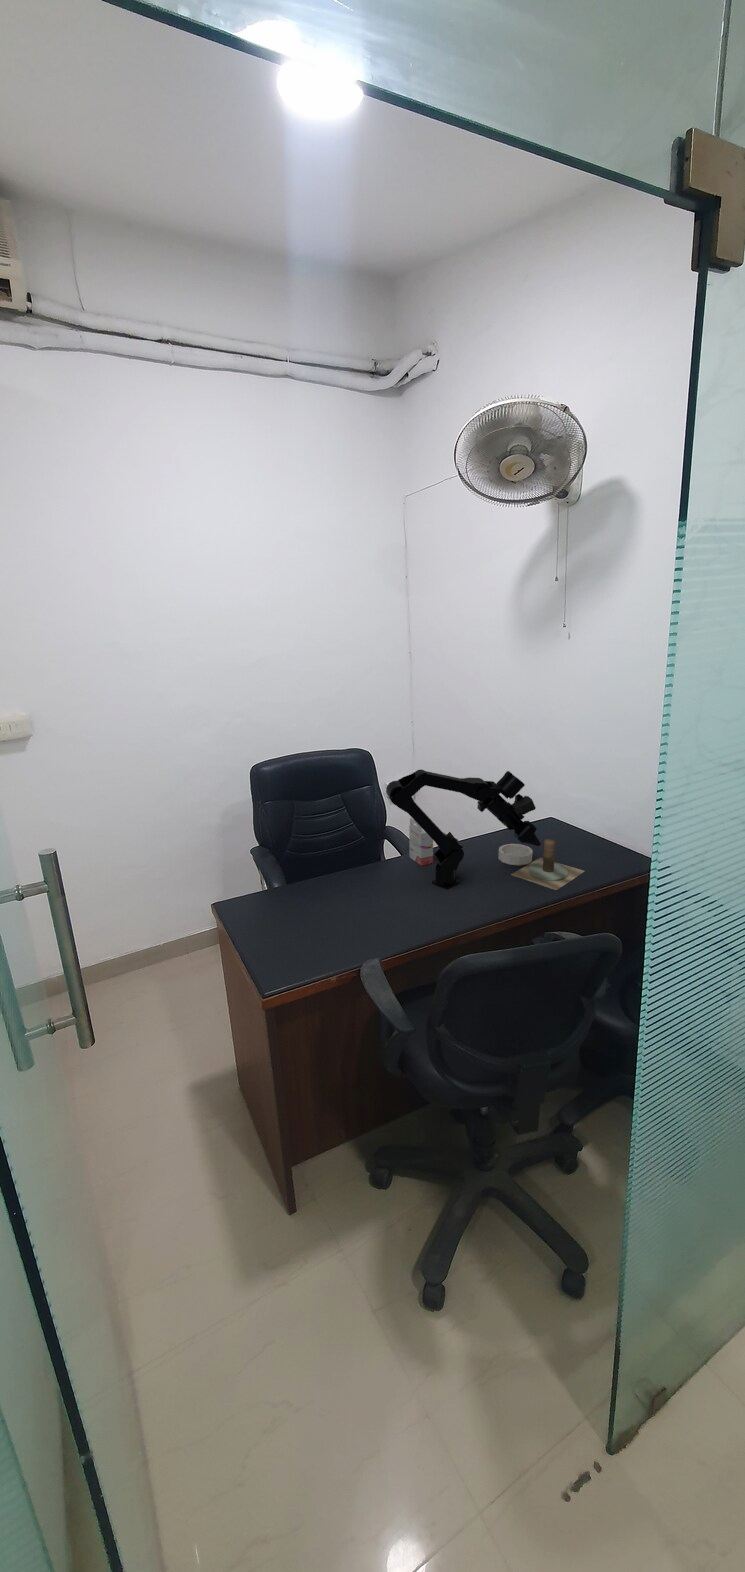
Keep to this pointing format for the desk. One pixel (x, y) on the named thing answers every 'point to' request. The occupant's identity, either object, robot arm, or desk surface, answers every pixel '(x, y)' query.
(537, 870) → the lid
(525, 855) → the bowl
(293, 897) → the desk surface
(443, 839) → the robot arm
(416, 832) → the ink cartridge box
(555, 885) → the mat
